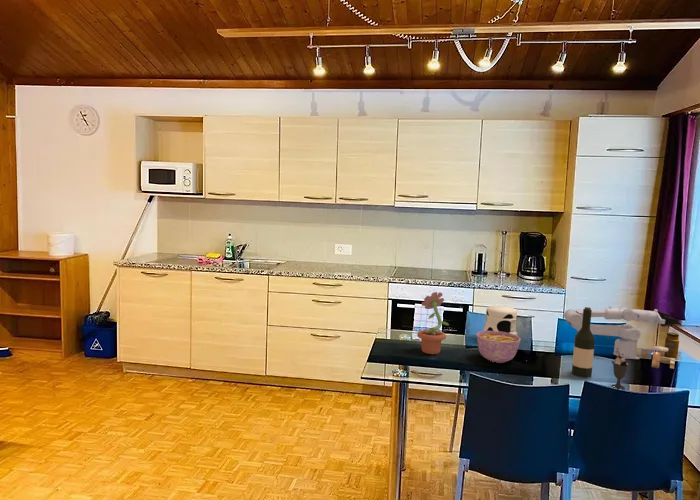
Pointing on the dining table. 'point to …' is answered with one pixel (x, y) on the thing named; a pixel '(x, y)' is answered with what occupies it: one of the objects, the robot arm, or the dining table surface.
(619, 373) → the sundae
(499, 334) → the bowl of food
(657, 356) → the copper peg
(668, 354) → the condiment
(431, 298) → the decorative flower
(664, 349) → the bobbin
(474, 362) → the dining table surface
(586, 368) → the wine bottle
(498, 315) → the milk container
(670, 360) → the notched board
